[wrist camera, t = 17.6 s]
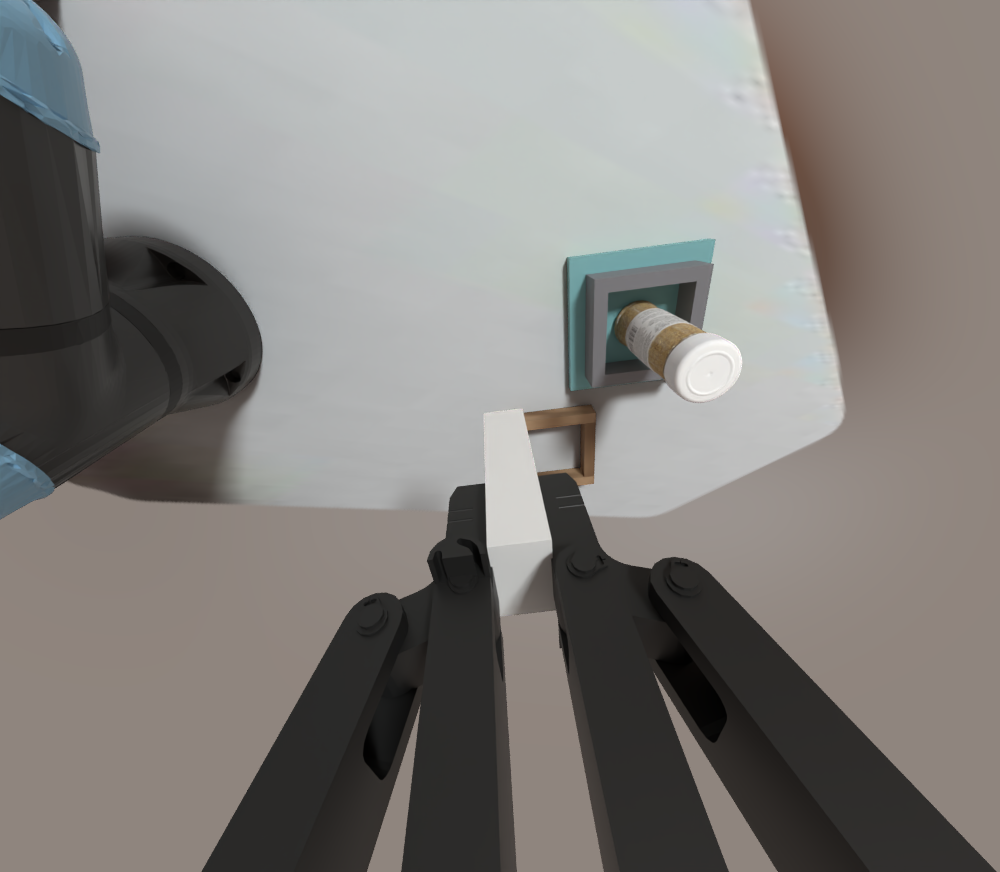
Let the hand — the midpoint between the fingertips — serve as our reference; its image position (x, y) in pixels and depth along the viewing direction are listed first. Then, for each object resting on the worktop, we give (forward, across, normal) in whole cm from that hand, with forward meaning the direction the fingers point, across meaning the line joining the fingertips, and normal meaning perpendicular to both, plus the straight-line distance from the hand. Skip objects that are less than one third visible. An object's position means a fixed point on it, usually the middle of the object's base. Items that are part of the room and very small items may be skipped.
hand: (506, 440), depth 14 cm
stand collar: (+24, +5, -17) cm, 30 cm away
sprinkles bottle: (+24, +14, -3) cm, 28 cm away
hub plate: (+24, +14, -3) cm, 28 cm away
